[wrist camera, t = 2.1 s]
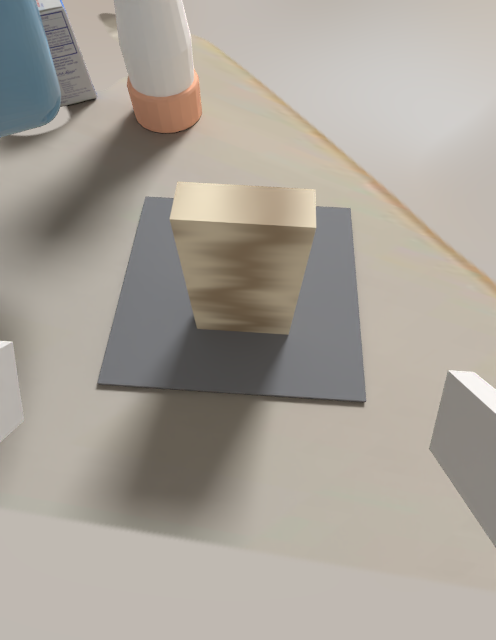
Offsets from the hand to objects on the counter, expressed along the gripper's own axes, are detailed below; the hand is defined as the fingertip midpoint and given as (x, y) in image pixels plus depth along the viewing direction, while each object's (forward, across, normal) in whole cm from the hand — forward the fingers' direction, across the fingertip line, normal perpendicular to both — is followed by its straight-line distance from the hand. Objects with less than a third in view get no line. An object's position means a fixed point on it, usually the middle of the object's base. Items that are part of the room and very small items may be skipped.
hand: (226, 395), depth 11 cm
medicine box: (+38, -22, +17) cm, 47 cm away
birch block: (+18, 0, -3) cm, 18 cm away
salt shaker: (+36, -10, +14) cm, 40 cm away
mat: (+20, -1, -1) cm, 20 cm away
